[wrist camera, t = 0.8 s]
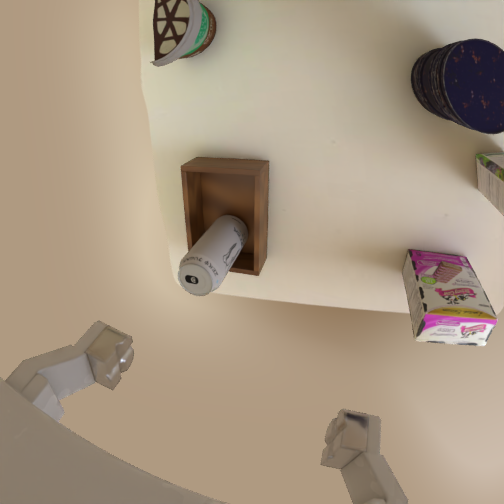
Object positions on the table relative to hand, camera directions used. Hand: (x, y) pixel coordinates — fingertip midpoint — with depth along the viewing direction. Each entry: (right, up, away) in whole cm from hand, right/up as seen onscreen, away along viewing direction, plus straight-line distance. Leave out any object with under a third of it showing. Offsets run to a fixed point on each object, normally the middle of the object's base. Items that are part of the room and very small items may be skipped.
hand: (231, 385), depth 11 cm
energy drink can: (-2, +8, +42) cm, 43 cm away
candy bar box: (+30, +3, +36) cm, 47 cm away
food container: (-6, +37, +27) cm, 47 cm away
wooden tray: (-2, +12, +41) cm, 42 cm away
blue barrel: (+27, +28, +22) cm, 44 cm away
